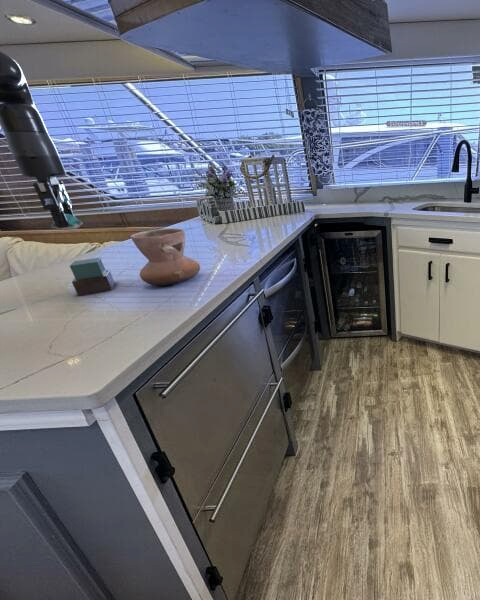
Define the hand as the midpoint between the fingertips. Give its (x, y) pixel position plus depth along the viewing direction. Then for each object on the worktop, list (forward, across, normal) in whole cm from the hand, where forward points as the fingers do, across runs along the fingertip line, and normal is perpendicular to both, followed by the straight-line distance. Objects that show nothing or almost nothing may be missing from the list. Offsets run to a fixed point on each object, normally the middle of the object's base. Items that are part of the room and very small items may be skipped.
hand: (67, 225), depth 81 cm
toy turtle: (+1, 0, 0) cm, 1 cm away
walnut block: (+18, -1, 0) cm, 18 cm away
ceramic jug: (+18, +5, +18) cm, 26 cm away
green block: (+14, -1, 0) cm, 14 cm away
